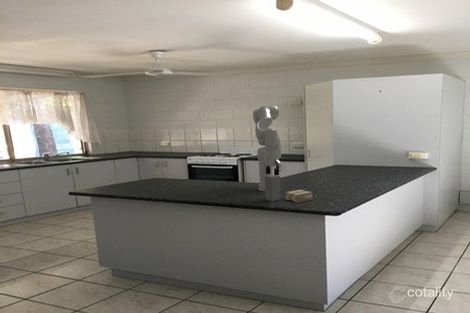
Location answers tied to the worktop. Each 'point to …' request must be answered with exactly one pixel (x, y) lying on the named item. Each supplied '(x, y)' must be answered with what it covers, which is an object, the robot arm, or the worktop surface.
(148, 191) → the worktop surface
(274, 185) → the skincare box
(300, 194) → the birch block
